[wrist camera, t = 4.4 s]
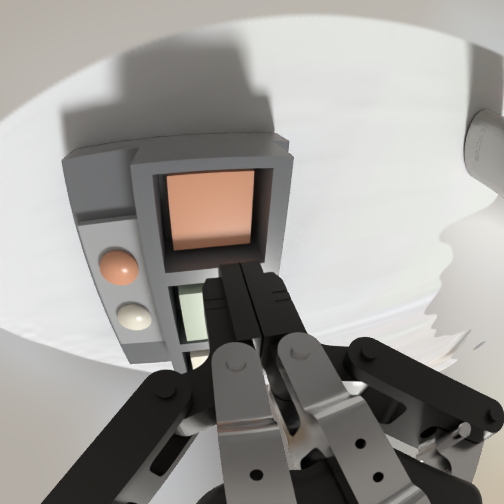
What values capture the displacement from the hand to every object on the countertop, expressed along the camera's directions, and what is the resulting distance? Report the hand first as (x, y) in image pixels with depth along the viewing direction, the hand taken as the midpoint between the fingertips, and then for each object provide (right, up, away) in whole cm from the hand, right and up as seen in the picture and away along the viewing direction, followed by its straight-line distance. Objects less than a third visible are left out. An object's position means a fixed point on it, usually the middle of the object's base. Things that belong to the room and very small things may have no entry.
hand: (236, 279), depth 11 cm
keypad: (-5, 0, +12) cm, 13 cm away
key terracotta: (-2, +4, +6) cm, 8 cm away
